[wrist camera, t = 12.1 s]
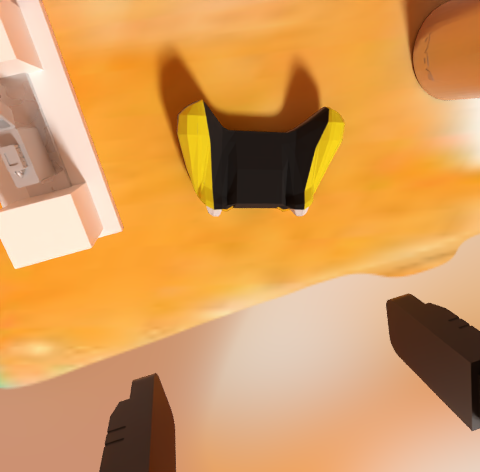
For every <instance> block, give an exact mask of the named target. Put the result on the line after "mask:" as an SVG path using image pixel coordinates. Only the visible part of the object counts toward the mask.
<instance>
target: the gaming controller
mask: <svg viewBox="0 0 480 472" xmlns="http://www.w3.org/2000/svg"><path fill="white" fill-rule="evenodd" d="M344 127H345V122H344V120H343V118H342V117H341V115H340V114H339V113H338V112H336V111H335V110H333V109H331V108H329V107H323V108H321V109H320V110H319V111H317V112H316V113H315V114H313V115H312V116H311V117H309V118H308V119H307V120H306V121H304V122H303V123H301V124H300V125H298V126H297V127H295V128H294V129H293V130H290V131H288V132H285V133H284V132H257V131H234V130H227V129H226V128H224V127H222V125H221V124H220V122H219V121H218V120H217V118H216V117H215V116H214V114H213V113H212V111H211V110H210V109H209V107H208V106H207V105H206V103H205V102H204V100H199V101H196V102H194V103H191V104H190V105H188V106H186V107H185V108H184V109H183V110H182V111H181V112H180V113H179V114H178V115H177V136H178V139H179V143H180V147H181V151H182V154H183V158H184V162H185V166H186V169H187V171H188V174H189V177H190V179H191V182H192V185H193V187H194V190H195V192H196V194H197V196H198V197H199V199H200V200H201V201H202V202H203V203H204V204H205V205H206V206H207V210H208V213H209V214H211V215H213V216H219V215H220V213H221V211H228V210H230V209H232V208H277V209H279V210H281V211H282V212H283V211H288V210H291V211H292V212H293V213H294V214H295V215H296V216H303V215H304V214H306V212H307V210H308V208H309V206H310V205H311V203H312V202H313V195H314V193H315V192H316V190H317V187H318V185H319V184H320V182H321V180H322V178H323V176H324V174H325V172H326V170H327V168H328V166H329V164H330V162H331V160H332V159H333V157H334V155H335V153H336V151H337V149H338V148H339V146H340V144H341V142H342V140H343V133H344Z"/></svg>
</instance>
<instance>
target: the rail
mask: <svg viewBox="0 0 480 472" xmlns="http://www.w3.org/2000/svg"><path fill="white" fill-rule="evenodd" d="M0 100H1V101H2V102H3V103H4V104H6V105H7V106H8V107H9V108H10V109H11V110H12V114H13V118H14V122H15V128H21V127H36V128H37V129H38V131H39V133H40V136H41V138H42V141H43V143H44V146H45V148H46V150H47V153H48V155H49V158H50V160H51V163H52V165H53V168H54V170H55V175H54V176H52V177H50V178H48V179H45V180H43V181H41V182H39V183H36V184H32V185H28V186H25V187H26V189H27V191H28V194H29V196H30V197H34V196H38V195H42V194H46V193H50V192H54V191H57V190H61V189H65V188H69V187H71V186H72V183H71V181H70V178H69V176H68V173H67V171H66V168H65V166H64V163H63V161H62V158H61V155H60V153H59V150H58V148H57V145H56V143H55V140H54V138H53V135H52V133H51V130H50V127H49V125H48V122H47V120H46V117H45V115H44V112H43V110H42V107H41V105H40V102H39V99H38V97H37V94H36V92H35V89H34V87H33V84H32V82H31V79H30V77H29V74H28V73H20V74H16V75H11V76H7V77H3V78H0Z"/></svg>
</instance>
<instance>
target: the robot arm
mask: <svg viewBox="0 0 480 472" xmlns="http://www.w3.org/2000/svg"><path fill="white" fill-rule="evenodd" d="M413 64H414V70H415V74H416V77H417V79H418V82H419V83H420V85H421V86H422V88H423V89H424V90H425V91H426V92H427V93H428V94H429V95H431V96H433V97H435V98H437V99H441V100H458V99H471V98H480V0H450V1H448V2H446V3H444V4H442V5H440V6H439V7H438V8H436V9H435V10H434V11H432V13H431V14H430V15H429V16H428V17H427V18H426V20H425V21H424V23H423V25H422V26H421V28H420V30H419V32H418V35H417V38H416V40H415V45H414V51H413ZM386 308H387V317H388V326H389V335H390V340H391V344H392V346H393V348H394V350H395V352H396V353H397V354H398V356H399V357H400V358H401V359H402V360H403V361H404V362H405V363H406V364H407V365H408V366H409V367H410V368H411V369H412V370H413V371H414V372H415V373H416V374H417V375H418V376H419V377H420V378H421V379H422V380H423V381H424V382H425V383H426V384H427V385H428V386H429V387H430V389H432V391H433V392H434V393H436V395H437V396H438V397H439V398H440V399H441V400H442V401H443V402H444V403H445V404H446V405H447V406H448V407H449V408H450V409H451V410H452V411H453V412H454V413H455V414H456V415H457V416H458V417H459V418H460V419H461V420H462V421H463V422H464V423H465V424H466V425H467V426H468V427H469V428H470V429H471V430H472V431H474V430H477V429H479V428H480V331H479V330H477V329H476V328H474V327H473V326H470V325H469V324H468V323H467V322H466V321H464V320H462V319H459V317H458V316H457V315H455V314H453V313H452V312H451V311H449V310H447V309H446V308H443V307H440V306H437V305H434V304H432V303H427V304H424V303H423V302H421V301H420V300H419V299H417V298H416V297H414V296H413V295H411V294H406V295H403V296H399V297H396V298H393V299H390V300H388V301H387V303H386ZM107 432H108V434H107V436H106V441H105V447H104V451H103V456H102V461H101V466H100V471H99V472H176V454H175V453H176V452H175V424H174V419H173V414H172V411H171V408H170V405H169V402H168V400H167V397H166V395H165V392H164V389H163V387H162V384H161V381H160V379H159V377H158V375H157V374H156V373H155V374H152V375H148V376H146V377H142V378H139V379H136V380H133V382H132V387H131V394H130V399H128V400H124V401H121V402H119V404H118V405H117V407H116V409H115V410H114V412H113V413H112V415H111V416H110V421H109V426H108V431H107Z"/></svg>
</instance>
